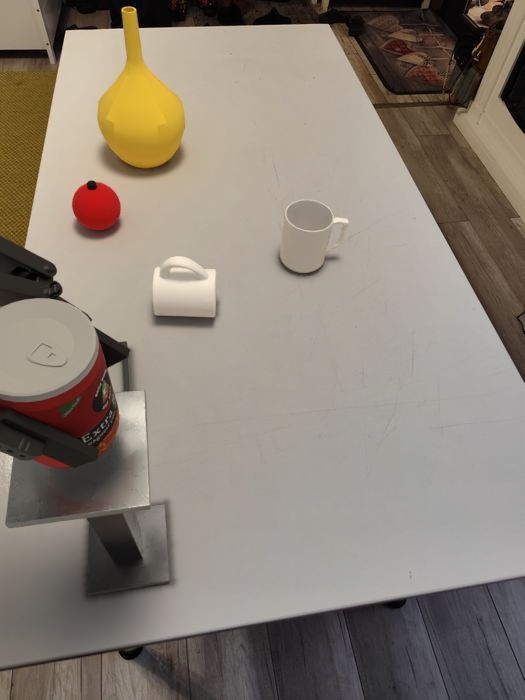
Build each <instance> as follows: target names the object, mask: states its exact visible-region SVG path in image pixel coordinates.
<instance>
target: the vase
mask: <svg viewBox="0 0 525 700" xmlns="http://www.w3.org/2000/svg"><path fill="white" fill-rule="evenodd" d="M121 18H122V28H123V36H124V46H125V53H126V62H125V64H124V68H123V70H122V71H121V72H120V74H119V75H118V76H117V78H116V79H114V82H113V83H112V84H111V85H110V87H108V88H107V90H106V91H105V92H104V93H103V94H102V95H101V96H100V98H99V100H98V102H97V114H96V115H97V116H96V117H97V118H96V119H97V123H98V128H99V130H100V133H101V135H102V137H103V138H104V141H105V142H106V144H107V146H108V147H109V149H110V150H111V151H112V152H113V153H114V154H115V155H116V156H117V157H118V158H119V159H120V160H121V161H122V162H125V163H126V164H129V165H130V166H132V167H135V168H138V169H153V168H157V167H160V166H163V164H165V163H166V162H168V161H169V160H171V158H173V156H174V155H175V153H176V152H177V150H179V148H180V145H181V142H182V140H183V135H184V133H185V129H186V115H185V109H184V105H183V102H182V100H181V98H180V96H179V95H177V94H176V92H174V91H173V90H172V89H170V88H169V87H168V86H167V85H166V84H165V83H164V82H162V80H161V79H159V78H158V77H157V76H156V75H155V74H154V73H153V72H152V71H151V69H149V67H148V66H147V64H146V63H145V60H144V58H143V51H142V42H141V34H140V27H139V21H138V13H137V8H135V7H134V6H124V7H122V8H121Z"/></svg>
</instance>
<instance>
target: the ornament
mask: <svg viewBox="0 0 525 700" xmlns="http://www.w3.org/2000/svg"><path fill="white" fill-rule="evenodd" d="M121 205H122V204H121V200H120V198H119V196H118V193H116V191H115V190H114V189H113V188H112V187H110V186H109V185H107V184H105V183H103V182H99V181H95V180H93V179H92V180H91V179H90V180H88V181H87V182H86V183H84V184H82V185H80V186H79V187H78V188H77V190H75V192H74V194H73V196H72V201H71V209H72V212H73V214H74V217H75V218H76V220H77V221H78V222H79V223H80V224H81V225H82V226H84V227H85V228H87V229H90V230H93V231H103V230H107V229H109V228H112V227H113V226H114V225H115V224H116V223H117V222H118V220H119V218H120V216H121V211H122V206H121Z"/></svg>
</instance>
